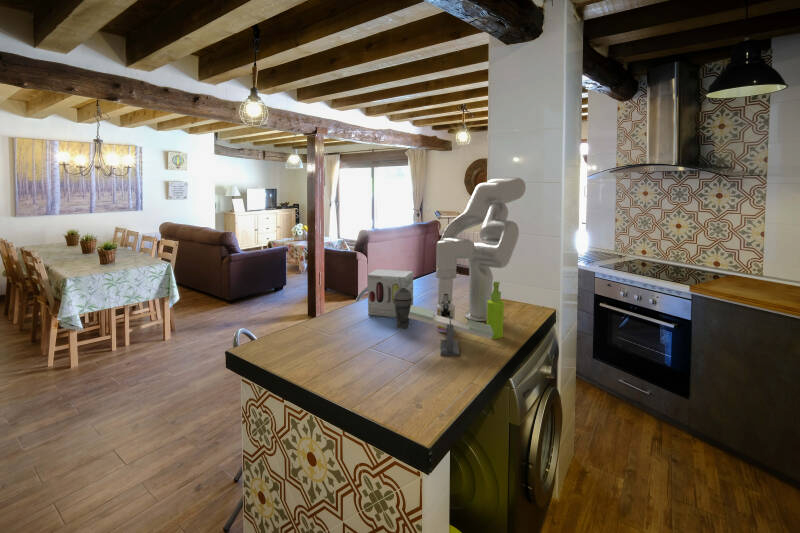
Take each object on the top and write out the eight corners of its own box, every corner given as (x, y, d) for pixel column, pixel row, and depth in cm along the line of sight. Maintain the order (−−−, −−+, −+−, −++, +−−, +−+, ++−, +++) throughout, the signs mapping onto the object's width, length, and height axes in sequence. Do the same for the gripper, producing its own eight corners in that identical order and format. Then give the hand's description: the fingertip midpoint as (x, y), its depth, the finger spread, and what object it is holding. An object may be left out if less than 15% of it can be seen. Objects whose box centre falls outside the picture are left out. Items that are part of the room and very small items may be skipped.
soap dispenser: (503, 333, 154) (505, 281, 150) (501, 339, 147) (504, 285, 144) (487, 331, 156) (489, 280, 152) (485, 337, 149) (486, 284, 146)
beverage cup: (410, 330, 158) (410, 279, 154) (391, 329, 159) (391, 278, 156) (413, 324, 165) (413, 275, 161) (395, 323, 166) (395, 274, 163)
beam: (488, 332, 141) (490, 325, 140) (491, 340, 133) (493, 333, 133) (409, 311, 142) (411, 304, 142) (407, 318, 134) (409, 311, 134)
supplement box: (367, 315, 177) (366, 274, 174) (377, 307, 190) (377, 268, 186) (405, 318, 172) (405, 276, 169) (414, 310, 185) (414, 270, 181)
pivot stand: (457, 342, 145) (458, 315, 143) (459, 356, 133) (459, 326, 131) (440, 342, 145) (440, 315, 143) (440, 355, 134) (440, 326, 132)
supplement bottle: (442, 326, 162) (442, 294, 160) (457, 329, 158) (458, 297, 156) (433, 331, 157) (434, 298, 154) (449, 334, 153) (449, 301, 151)
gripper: (436, 268, 162) (435, 310, 165) (435, 277, 145) (435, 324, 148) (455, 269, 162) (454, 311, 165) (457, 278, 145) (456, 324, 148)
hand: (445, 317), depth 156 cm, fingers open, 9 cm apart
